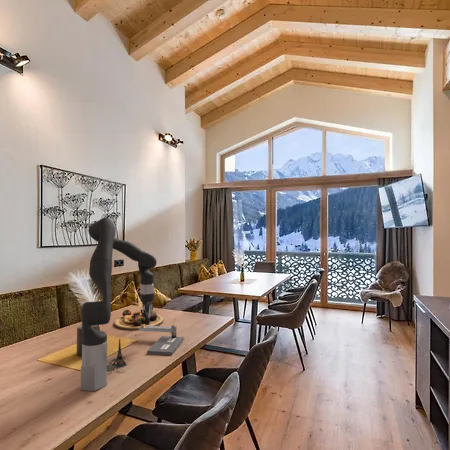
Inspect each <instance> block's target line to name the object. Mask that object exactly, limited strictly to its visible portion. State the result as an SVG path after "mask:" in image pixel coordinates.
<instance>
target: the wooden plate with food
mask: <svg viewBox="0 0 450 450" xmlns="http://www.w3.org/2000/svg"><path fill="white" fill-rule="evenodd" d="M164 320H165V319H164V318H163V316H161V315H159V314H157V312H156V309H154V308H153V311H152V315H151V316H150V324H149V326H162V324H163V323H164ZM142 324H145V318H144V317H143V316H142V314H141V311H135V312H133V313H132V311H131V309H128V308H125V309H124V310H123V311H122V316H121V317H118V318H116V319H115V320H114V327H115V328H117V329H119V330H124V331H139V327H140V326H141V325H142Z"/></svg>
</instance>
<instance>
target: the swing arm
mask: <svg viewBox="0 0 450 450" xmlns="http://www.w3.org/2000/svg"><path fill="white" fill-rule="evenodd" d="M138 331H139V332H153V333H154V332H156V333H157V332H158V333H171V338H176V337H177V325H176V324H172V325H171V326H169V325H166V326H164V325H159V326H149V325H145V324H142V325H141V326H140V327H139V330H138Z"/></svg>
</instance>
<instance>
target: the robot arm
mask: <svg viewBox="0 0 450 450" xmlns="http://www.w3.org/2000/svg"><path fill="white" fill-rule="evenodd" d="M88 235H89V237H90V238H92V240H94V241H96V242H98V243H97V246H95V249H94V251H93V253H92V255H91V258H90V260H89V269H88V272H89V273H88V275H89V277H90V279H91V282H93V284H94V285H95V286H96V288H97V289H98V290H99V293H100V295H101V297H102V300H101V301H96V300H95V301H87V302H84V303H83V304H82V306H81V318H80V319H81V325H82V357H81V365H80V391H87V392H96V391H97V390H100V389H102V388H104V387H106V386H107V384H108V374H107V373H108V371H107V365H108V335H107V333H106V332H105V331H103V330H96V329H94V328H93V327H92V325H98V326H101V325H107V324H109V323H110V320H111V316H112V300H111V299H112V296H111V294H112V293H111V284H112V272H113V253H114V252H113V250H116V251H118V252H120V253H121V254H123V255H124V256H126V257H128V258H129V259H130V260H132V261H134V262H137V268H138V271H139V276H140V286H139V287H140V288H139V291H140V292H139V296H140V297H139V301H140V303H142V309H140V312H141V314H142V316H143V317H144V318H145V325H149V324H150V316H151V315H152V311H153V309H154V307H155V306H154V304H153V302H154V301H155V275H154V274H153V272H151V269H153V268H155V267H156V265H157V259H156V257H155V256H154V255H152V254H150V253H149V252H146V251H144V250H142V249H141V248H140V247H138V246H137V245H135V244H134V243H132V242H129V241H128V240H123V239H118V238H116V237H115V235H116V226H115V223H114V221H113V220H112V219H111V218H110V217H103V218H100V219H99V220H97V221H95V222H94V223H92V224H91V225H90V226H89V227H88Z"/></svg>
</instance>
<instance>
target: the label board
mask: <svg viewBox="0 0 450 450" xmlns="http://www.w3.org/2000/svg"><path fill="white" fill-rule="evenodd" d="M183 340H184V341H185V336H176V338H171V336H170V335H169V336H168V335H162V336H161V337H160V338H159V339H157V340H156V341H155V342H154V343H153V344H152V345H151V346H150V347H149V348H148V349H147V351H146V354H147V355H162V356H173V355H174V353H176V351H177V350H178V349H179V347H180V346H181V344H182V343H183V342H184V341H183Z"/></svg>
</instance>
